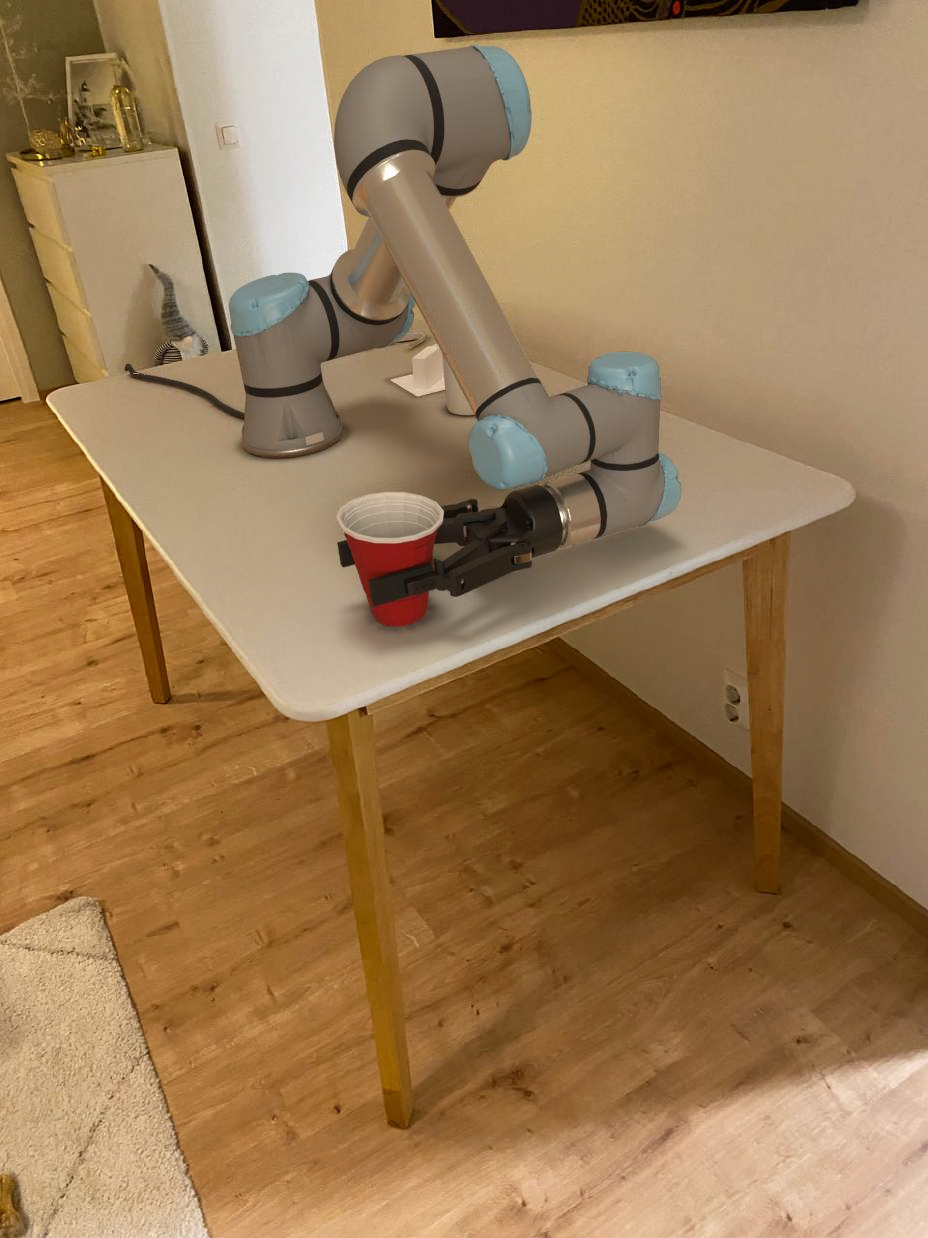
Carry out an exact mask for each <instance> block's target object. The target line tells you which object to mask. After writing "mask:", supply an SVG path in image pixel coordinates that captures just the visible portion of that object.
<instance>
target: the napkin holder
mask: <svg viewBox="0 0 928 1238" xmlns="http://www.w3.org/2000/svg"><path fill="white" fill-rule="evenodd" d="M411 365H412V373H411V374H408V375H403V376H399V377H395V378H391V379H390V381H391V382H392V383H394V384H395V385H397V386H398V387H401V388H402V389H403V390H405V391H407V392H409V393H410V394H412V395H414V396H415V397H417V398H418V397H422V396H425V395H430V394H435V393H437V392H441V391H445V382H444V370H443V358H442V352H441V350H440V348H439V346H438V344H437V343H434V344H433V345H428V346H426V347H424V348H423V349H422V350H421V351H419V352H418V353H417V354H416V355H414V356H413V357H411Z"/></svg>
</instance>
